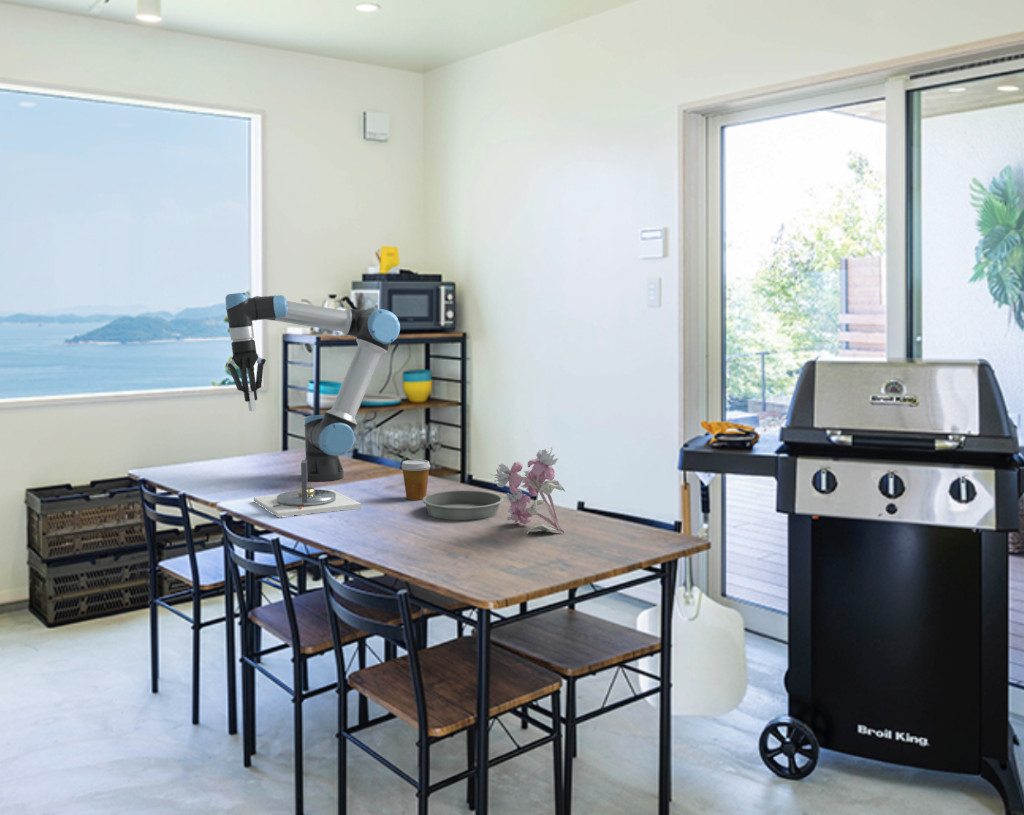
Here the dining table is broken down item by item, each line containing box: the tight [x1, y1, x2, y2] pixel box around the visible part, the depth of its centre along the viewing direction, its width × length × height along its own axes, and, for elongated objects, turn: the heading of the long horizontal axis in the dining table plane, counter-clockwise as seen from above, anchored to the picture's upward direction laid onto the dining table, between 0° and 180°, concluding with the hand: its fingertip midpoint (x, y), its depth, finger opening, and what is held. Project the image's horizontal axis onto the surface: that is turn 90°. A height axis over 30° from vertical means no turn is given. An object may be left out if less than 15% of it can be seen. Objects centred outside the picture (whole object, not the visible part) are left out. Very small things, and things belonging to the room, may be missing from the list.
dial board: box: [253, 489, 362, 518], centre depth 295 cm, size 26×26×2 cm
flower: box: [489, 447, 566, 535], centre depth 264 cm, size 20×22×25 cm
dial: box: [277, 459, 336, 506], centre depth 293 cm, size 20×18×13 cm
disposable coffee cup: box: [400, 459, 431, 501], centre depth 305 cm, size 10×10×12 cm
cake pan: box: [421, 489, 504, 521], centre depth 286 cm, size 25×25×4 cm
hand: (252, 410), depth 312 cm, fingers closed
